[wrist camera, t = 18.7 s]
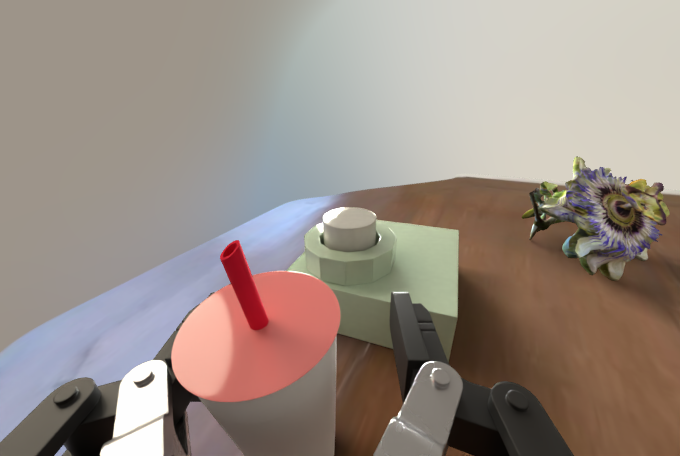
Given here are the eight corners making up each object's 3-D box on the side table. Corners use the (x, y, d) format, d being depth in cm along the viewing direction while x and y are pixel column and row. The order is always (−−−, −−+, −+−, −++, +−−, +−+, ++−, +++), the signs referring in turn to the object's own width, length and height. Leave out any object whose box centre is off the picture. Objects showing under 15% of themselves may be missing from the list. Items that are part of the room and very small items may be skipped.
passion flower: (585, 319, 28) (615, 267, 19) (492, 254, 35) (484, 197, 27) (669, 246, 28) (736, 162, 19) (558, 197, 35) (571, 122, 27)
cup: (240, 557, 10) (72, 340, 5) (244, 414, 15) (161, 219, 10) (371, 502, 12) (357, 272, 6) (338, 384, 16) (313, 193, 11)
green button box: (285, 318, 22) (275, 253, 19) (341, 247, 32) (339, 197, 29) (448, 365, 17) (463, 289, 15) (452, 265, 27) (462, 210, 25)
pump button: (314, 249, 20) (312, 224, 19) (335, 227, 24) (334, 204, 23) (367, 258, 19) (367, 232, 18) (381, 233, 22) (382, 210, 21)
